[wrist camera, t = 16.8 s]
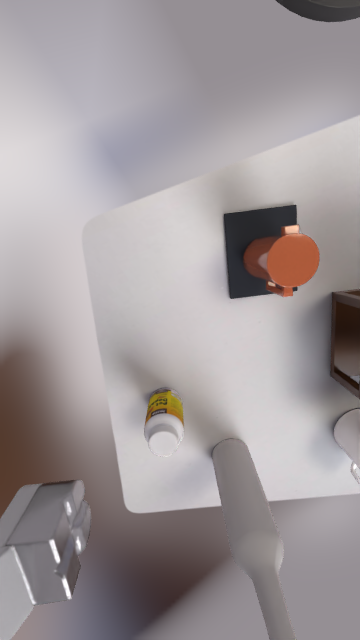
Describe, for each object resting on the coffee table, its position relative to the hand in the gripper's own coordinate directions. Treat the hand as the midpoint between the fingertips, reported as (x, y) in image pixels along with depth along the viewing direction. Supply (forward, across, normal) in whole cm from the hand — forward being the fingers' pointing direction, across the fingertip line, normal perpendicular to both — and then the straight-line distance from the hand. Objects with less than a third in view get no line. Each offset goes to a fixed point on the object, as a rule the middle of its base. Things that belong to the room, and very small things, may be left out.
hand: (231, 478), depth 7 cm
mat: (+34, -12, -4) cm, 36 cm away
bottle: (+34, -5, +30) cm, 46 cm away
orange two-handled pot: (+34, -12, -4) cm, 36 cm away
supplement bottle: (+34, +5, +18) cm, 39 cm away
